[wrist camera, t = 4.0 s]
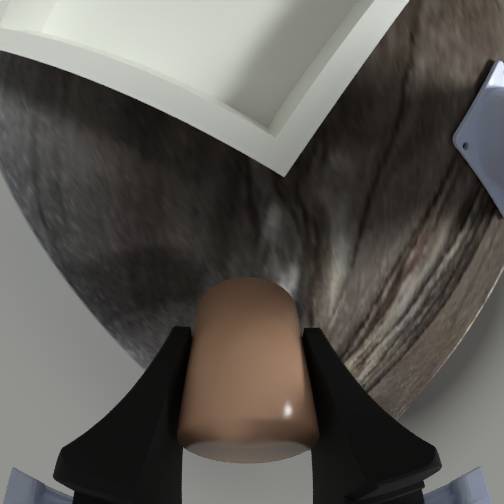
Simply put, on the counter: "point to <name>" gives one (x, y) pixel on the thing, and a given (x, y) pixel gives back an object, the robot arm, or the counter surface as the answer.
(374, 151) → the counter surface
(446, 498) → the robot arm
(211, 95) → the bin
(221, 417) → the peach cylinder
